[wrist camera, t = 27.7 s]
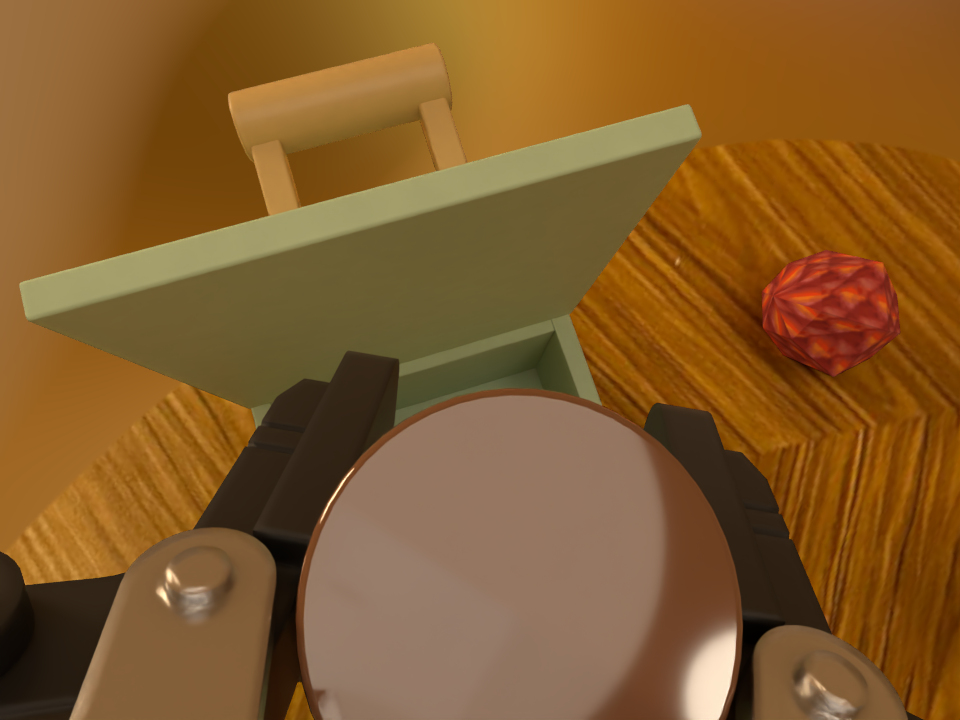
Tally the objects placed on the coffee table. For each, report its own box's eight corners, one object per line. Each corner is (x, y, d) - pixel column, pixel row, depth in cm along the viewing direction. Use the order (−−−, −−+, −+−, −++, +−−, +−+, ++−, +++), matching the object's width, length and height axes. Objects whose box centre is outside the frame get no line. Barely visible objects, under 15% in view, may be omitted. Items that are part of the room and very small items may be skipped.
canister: (423, 667, 15) (362, 949, 5) (377, 500, 15) (245, 458, 6) (583, 611, 15) (819, 770, 5) (530, 452, 16) (650, 334, 6)
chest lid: (704, 135, 14) (622, -69, 15) (24, 321, 12) (-25, 82, 13) (571, 313, 28) (534, 204, 29) (248, 409, 26) (218, 292, 27)
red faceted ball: (822, 388, 38) (716, 363, 35) (834, 275, 39) (732, 239, 36) (936, 390, 33) (823, 360, 29) (949, 257, 33) (839, 213, 30)
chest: (632, 608, 33) (685, 634, 25) (364, 702, 32) (336, 759, 24) (543, 353, 36) (567, 308, 28) (294, 428, 34) (249, 401, 27)
